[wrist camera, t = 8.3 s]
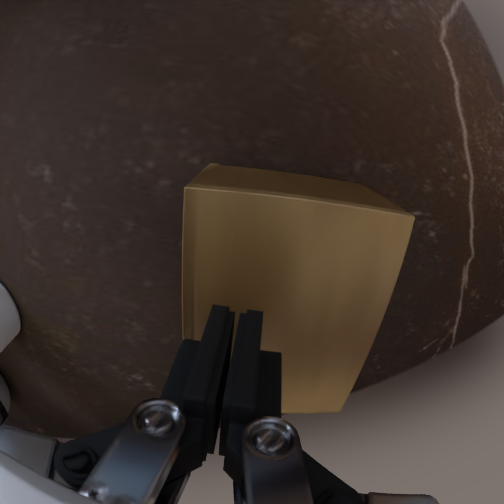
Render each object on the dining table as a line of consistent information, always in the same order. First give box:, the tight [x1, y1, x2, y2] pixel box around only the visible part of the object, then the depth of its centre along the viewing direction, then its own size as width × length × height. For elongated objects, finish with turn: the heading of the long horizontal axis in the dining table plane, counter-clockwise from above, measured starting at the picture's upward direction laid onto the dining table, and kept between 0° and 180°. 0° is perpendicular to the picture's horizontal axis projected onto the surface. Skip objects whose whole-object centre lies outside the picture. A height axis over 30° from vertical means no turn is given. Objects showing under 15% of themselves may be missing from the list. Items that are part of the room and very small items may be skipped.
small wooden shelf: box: [182, 163, 415, 413], centre depth 13 cm, size 10×6×8 cm
